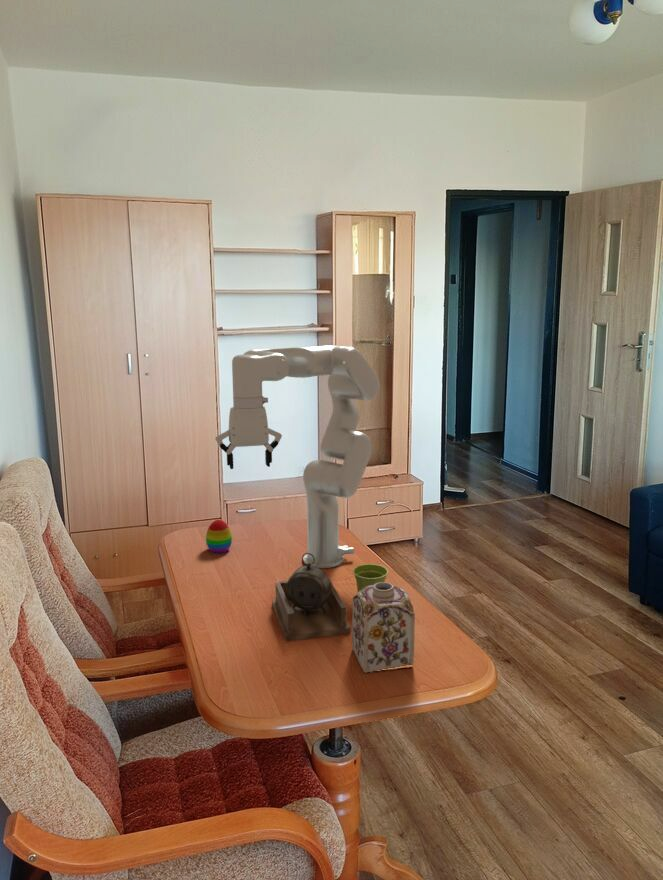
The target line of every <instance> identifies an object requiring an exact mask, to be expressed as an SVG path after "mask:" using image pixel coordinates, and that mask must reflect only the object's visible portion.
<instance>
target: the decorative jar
mask: <svg viewBox="0 0 663 880" xmlns="http://www.w3.org/2000/svg"><path fill="white" fill-rule="evenodd" d="M415 615H416V614H415V610H414V606H413V604H412V601H411V598H410V595H409V594H408V592H407V591H406V590H405V589H404V588H400V587H398V586H395V585H393V584H392V583H391V582H387V581H385V582H379V583H376V584H374V585H370V586H367V587H365V588H363V589H362V590H360V591H359V592H358V591H357V593H356V594H355V595H354V596H353V597H352V617H351V618H352V620H351V622H352V624H351V625H352V626H351V629H352V631H351V641H352V643H351V645H352V650H353V652H354V654H355V657H356V660H357V661H358V663H359V665H360V668H361V669H362V671H363V673H364V672H365V674H368V673H367V672H370V673H374V672H373V671H377V670H382V669H388V668H395V667H400V666H406V665H413V666H414V661H415V623H416V622H415V619H416V618H415V617H416V616H415Z"/></svg>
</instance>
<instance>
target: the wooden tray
mask: <svg viewBox="0 0 663 880" xmlns="http://www.w3.org/2000/svg"><path fill="white" fill-rule="evenodd" d="M329 580H330V583H331V594H330V597H329V598H328V600H327V601H326V602H325V604H324V605H323V607H324V609H325V611H326V613H324V611H323V610H322V609H321V608H319V609H317V610H314V611H307V613H306V616H304V610H303V609H300V608H298V607H297V606H296V607H295V608H293V606H294V604H293V603H292V601H291V600H290V598H289V596H288V593H287V582H288V580H280V581H278V582H276V583H275V598H274V599H272V600H271V601H272V602H271V603H272V608H273V609H274V614H275V616H276V618H277V621H278V624H279V627H280V629H281V632H282V634H283V637H284V639H285V642H290V641H298V640H307V639H315V638H322V637H330V636H338V635H339V634H340V635H346V633H348V634H351V626H350V624H349V623H348V621H347V607H346V605H345V603H344V602H343V600H342V598H341V597H340V595H339V593H338V591H337V589H336V588H335V586H334V585H333V582H332V581H331V579H330V578H329Z"/></svg>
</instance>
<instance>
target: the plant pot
mask: <svg viewBox="0 0 663 880" xmlns="http://www.w3.org/2000/svg"><path fill="white" fill-rule="evenodd" d="M352 573H353V575H354V578H355V581H356V590H357V593H358V592H359V591H360V590H362V589H363V588H365V587H367V586H370V585H374V584H376V583H379V582H386V579H387V576H388V575H389V570H388V568H387V567H385V566H384V565H380V564H376V563H364V564H360V565H357V566H355V567H353V569H352Z"/></svg>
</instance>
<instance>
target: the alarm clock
mask: <svg viewBox="0 0 663 880" xmlns="http://www.w3.org/2000/svg"><path fill="white" fill-rule="evenodd" d="M306 554H310V555H311V556H312V557H313V559H314V561H315V558H314V556H313V555H312V554H311V553H307V552H305V553H304V554H303V555H302V556H301V561H302V562H303V564H304V565H302V566H301V567H300V566H299V567H298V568H297V569H296V570H295V571H294V572H293V573H292V575H290V576H289V578H288V580H287V581H288V582H287V593H288V596H289V598H290V600H291V601H292V603H293V604H294V606H293V608H295V607H296V606H297V607H298V608H300V609H303V610H304V616H306V613H307V611H314V610H317V609H319V608H321V609H322V610H323V611H324V613H326V611H325V609H324V607H323V605H324V604H325V602H326V601H327V600H328V598H329V597H330V594H331V583H332V582H331V583H330V581H331V579H330V578H329V576H328V575H327V574H326V573H325V572H324V571H323V570H322V569H321V568H317V567H314V566H310V565H312V564H313V563H314V561H313V563H312V564H310V563H307V564H306V563H305V562H304V561H303V557H304V555H306ZM329 579H330V580H329Z"/></svg>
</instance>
